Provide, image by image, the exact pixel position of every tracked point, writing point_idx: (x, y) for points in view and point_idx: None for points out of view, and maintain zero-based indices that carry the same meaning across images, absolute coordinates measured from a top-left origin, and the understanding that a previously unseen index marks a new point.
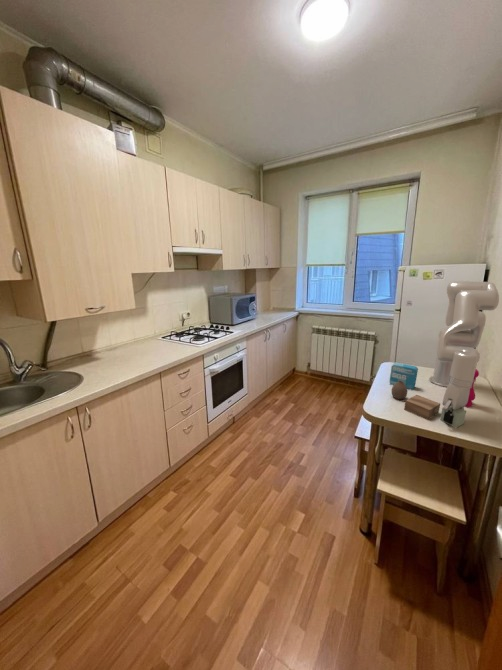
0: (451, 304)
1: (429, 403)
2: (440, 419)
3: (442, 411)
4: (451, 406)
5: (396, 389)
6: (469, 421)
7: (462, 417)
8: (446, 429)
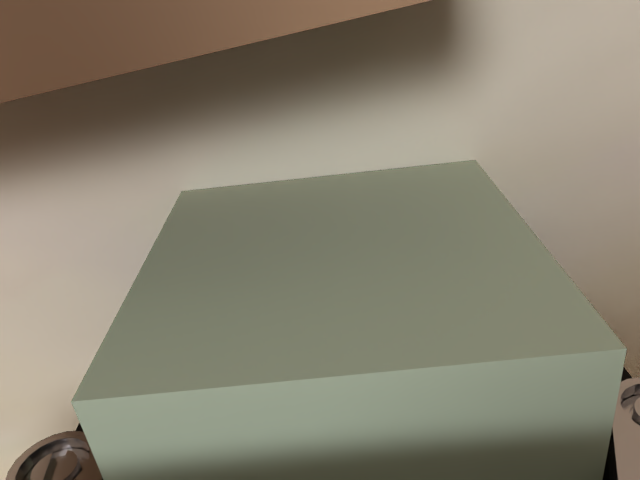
0: None
1: None
2: (179, 203)
3: (125, 326)
4: (480, 437)
5: None
6: (633, 376)
7: None
8: (40, 395)
